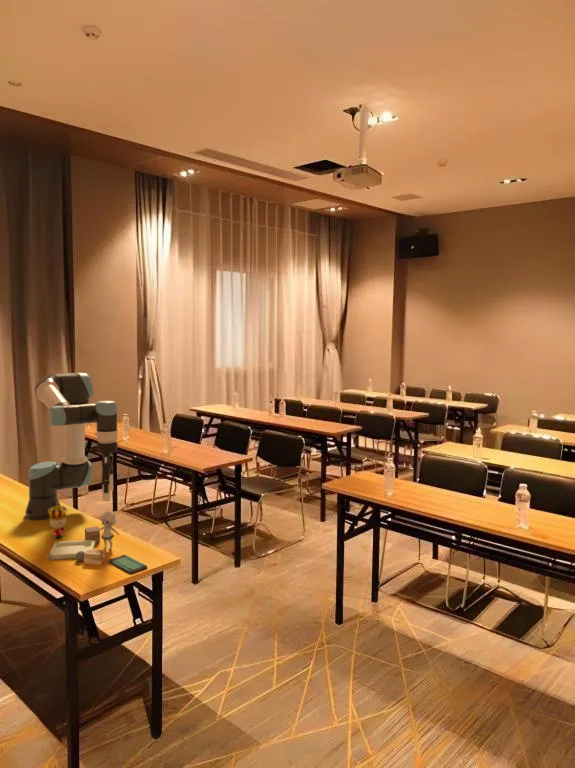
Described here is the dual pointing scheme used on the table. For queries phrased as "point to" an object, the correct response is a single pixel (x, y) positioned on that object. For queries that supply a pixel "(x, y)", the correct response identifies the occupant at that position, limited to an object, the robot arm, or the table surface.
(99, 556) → the maple block
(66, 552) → the tray
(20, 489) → the table surface
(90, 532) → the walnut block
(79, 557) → the grey ball
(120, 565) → the smartphone
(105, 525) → the figurine
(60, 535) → the toy
